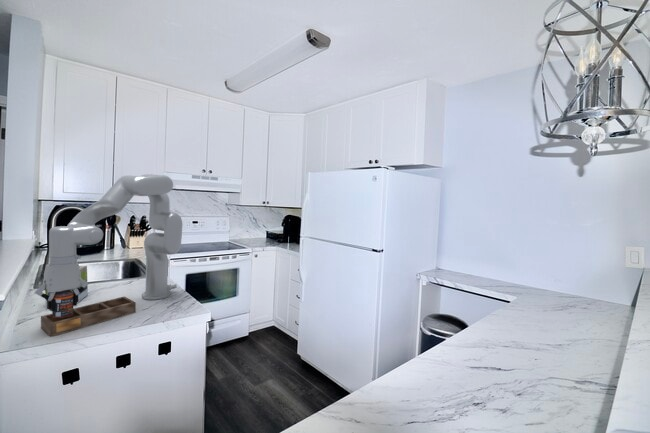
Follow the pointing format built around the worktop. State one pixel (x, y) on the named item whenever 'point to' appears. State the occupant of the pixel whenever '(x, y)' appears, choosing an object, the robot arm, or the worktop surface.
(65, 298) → the supplement bottle
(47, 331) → the wooden compartment tray
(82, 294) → the tea box
